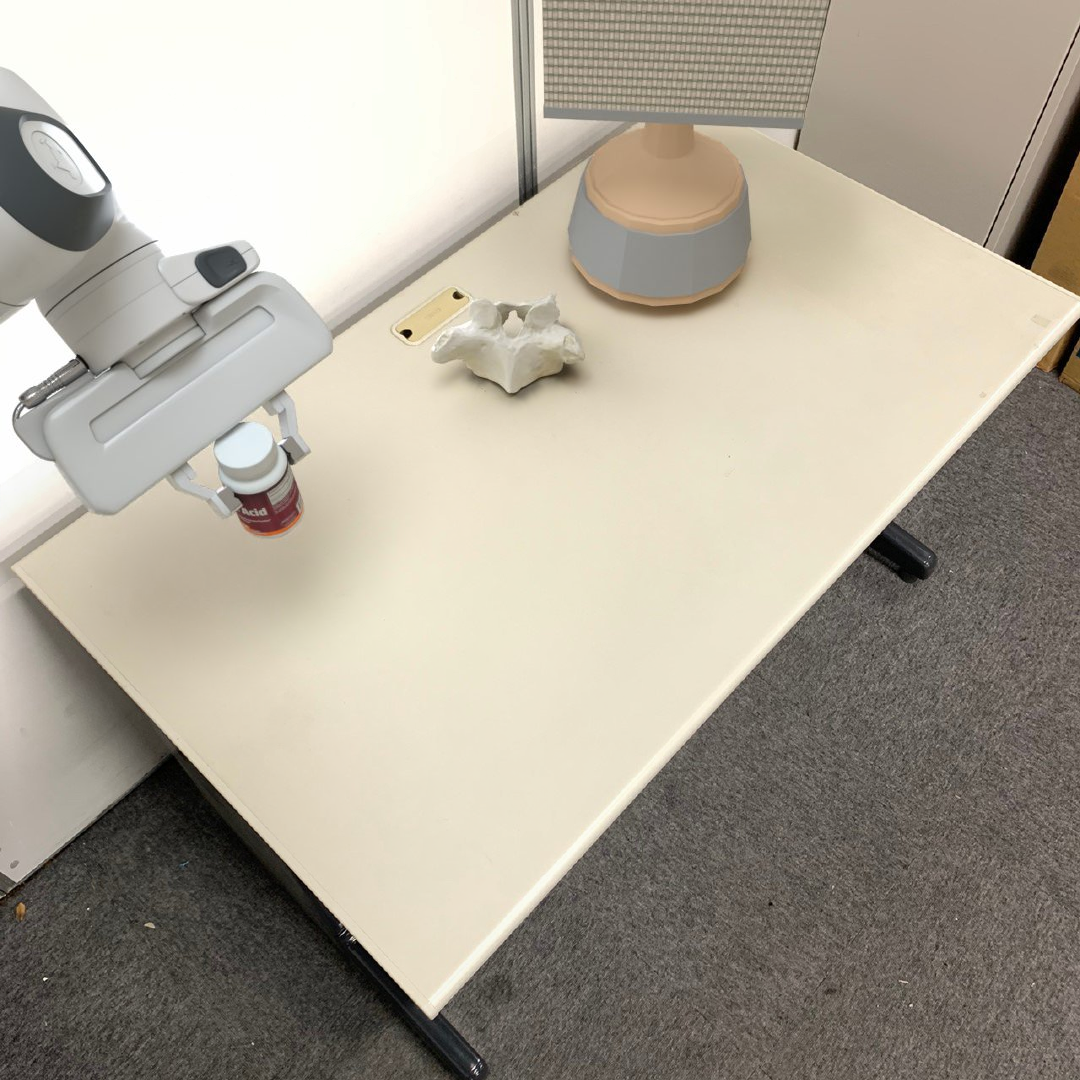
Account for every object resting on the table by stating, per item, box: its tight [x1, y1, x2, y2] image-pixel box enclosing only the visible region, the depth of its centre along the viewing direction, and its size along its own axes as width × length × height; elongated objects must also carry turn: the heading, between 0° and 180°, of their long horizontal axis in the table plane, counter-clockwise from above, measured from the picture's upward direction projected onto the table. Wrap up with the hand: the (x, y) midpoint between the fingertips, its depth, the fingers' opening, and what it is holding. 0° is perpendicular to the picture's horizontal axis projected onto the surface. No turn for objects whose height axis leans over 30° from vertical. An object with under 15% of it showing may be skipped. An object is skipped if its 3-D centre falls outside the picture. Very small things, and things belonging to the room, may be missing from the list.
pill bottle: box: [213, 421, 305, 540], centre depth 70 cm, size 5×5×8 cm
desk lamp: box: [541, 0, 830, 307], centre depth 91 cm, size 22×19×37 cm
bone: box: [430, 292, 586, 394], centre depth 94 cm, size 9×14×8 cm, turn 104°
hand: (268, 485), depth 70 cm, fingers closed on pill bottle, 5 cm apart
